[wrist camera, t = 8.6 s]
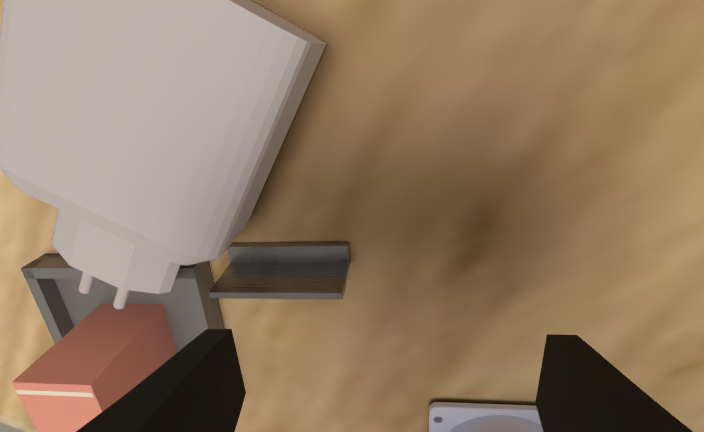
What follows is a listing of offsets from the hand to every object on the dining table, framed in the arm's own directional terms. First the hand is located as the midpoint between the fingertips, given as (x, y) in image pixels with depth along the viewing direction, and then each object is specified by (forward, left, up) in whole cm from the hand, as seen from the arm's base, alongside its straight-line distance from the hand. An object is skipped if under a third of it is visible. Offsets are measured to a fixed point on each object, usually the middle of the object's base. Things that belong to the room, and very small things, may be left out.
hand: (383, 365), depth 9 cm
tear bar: (-3, +5, -10) cm, 11 cm away
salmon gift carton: (-7, +14, -9) cm, 18 cm away
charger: (+3, +10, -10) cm, 14 cm away
